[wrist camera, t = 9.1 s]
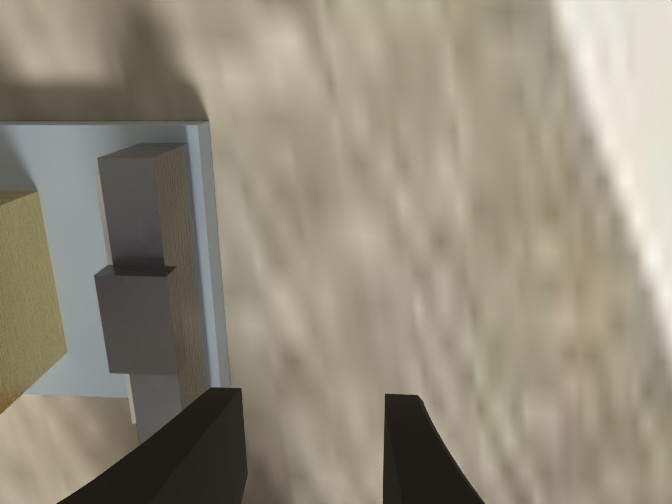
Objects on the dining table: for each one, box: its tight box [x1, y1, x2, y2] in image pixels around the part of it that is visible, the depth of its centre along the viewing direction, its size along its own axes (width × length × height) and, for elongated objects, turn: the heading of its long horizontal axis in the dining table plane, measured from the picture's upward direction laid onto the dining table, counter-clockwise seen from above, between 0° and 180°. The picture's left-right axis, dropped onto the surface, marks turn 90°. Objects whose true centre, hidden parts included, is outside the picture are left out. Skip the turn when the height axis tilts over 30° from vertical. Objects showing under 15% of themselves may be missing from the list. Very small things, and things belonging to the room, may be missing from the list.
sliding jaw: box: [94, 143, 211, 443], centre depth 17 cm, size 2×9×4 cm, turn 0°
